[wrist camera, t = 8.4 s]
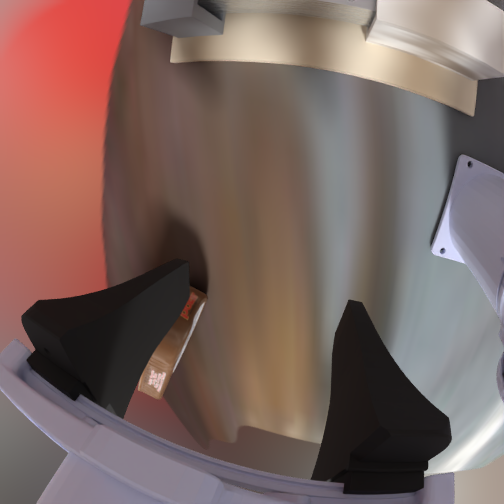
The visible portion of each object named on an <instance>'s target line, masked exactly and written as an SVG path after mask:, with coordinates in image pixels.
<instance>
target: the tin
mask: <svg viewBox="0 0 504 504" xmlns="http://www.w3.org/2000/svg"><path fill="white" fill-rule="evenodd" d="M207 299H208V297H207V295H206V294H204V293H203V292H201V291H199V290H197V289H195V288H193V287H191V286H190V298H189V300H188V302H187V304H186V306H185V307H184V309H183V311H182V313H181V315H180V316H179V317H178V319H177V320H176V322H175V323H174V324H173V326H172V327H171V329H170V330H169V331H168V333H167V334H166V335H165V337H164V338H163V340H162V341H161V342H160V344H159V345H158V347H157V348H156V350H155V351H154V353H153V354H152V356H151V358H150V360H149V362H148V364H147V365H146V367H145V369H144V371H143V373H142V375H141V377H140V381H139V385H138V390H139V391H142V392H144V393H146V394H148V395H150V396H152V397H154V398H156V399H161V398H162V396H163V393H164V391H165V388H166V386H167V384H168V382H169V379H170V377H171V374H172V373H173V372H174V371H175V369H176V367H177V365H178V363H179V361H180V359H181V356H182V354H183V352H184V350H185V348H186V346H187V344H188V341H189V339H190V337H191V335H192V333H193V331H194V329H195V327H196V325H197V323H198V320H199V318H200V316H201V313H202V311H203V309H204V306H205V304H206V302H207Z"/></svg>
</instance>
